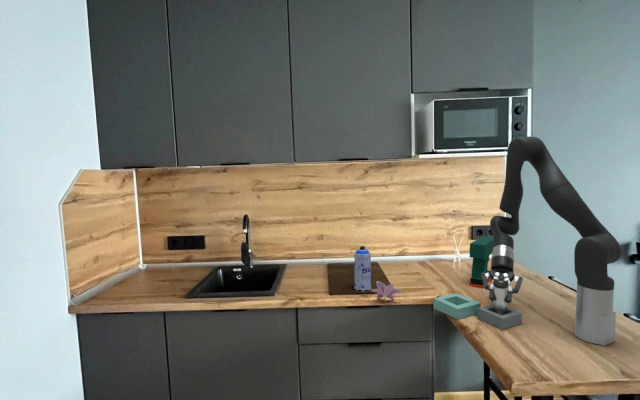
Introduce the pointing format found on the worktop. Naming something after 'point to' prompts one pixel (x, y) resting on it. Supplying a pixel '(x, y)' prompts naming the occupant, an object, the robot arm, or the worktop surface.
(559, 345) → the worktop surface
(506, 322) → the socket block
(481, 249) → the power tool
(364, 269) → the aerosol can
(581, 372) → the worktop surface
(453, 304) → the teal square tray
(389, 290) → the lily
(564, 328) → the worktop surface
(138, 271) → the worktop surface
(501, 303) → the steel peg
